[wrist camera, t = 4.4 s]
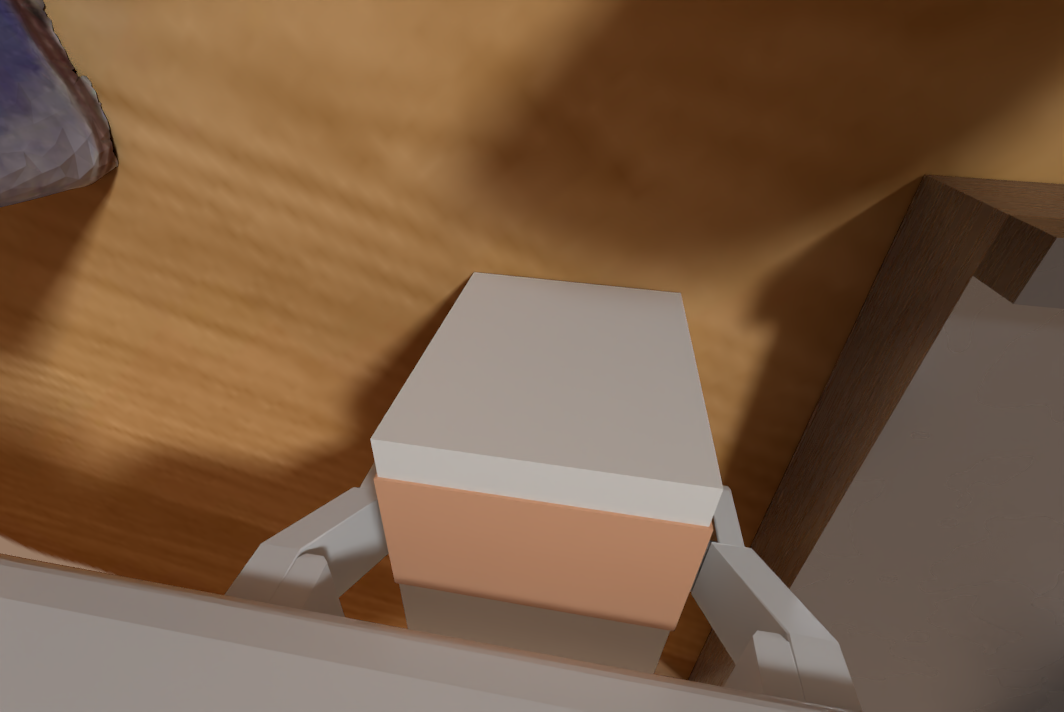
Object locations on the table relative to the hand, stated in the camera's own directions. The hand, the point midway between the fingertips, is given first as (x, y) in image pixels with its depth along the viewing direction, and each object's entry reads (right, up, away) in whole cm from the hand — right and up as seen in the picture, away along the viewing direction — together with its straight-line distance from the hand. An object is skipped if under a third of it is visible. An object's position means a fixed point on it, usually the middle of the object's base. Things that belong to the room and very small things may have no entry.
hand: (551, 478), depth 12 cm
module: (0, +1, +2) cm, 3 cm away
